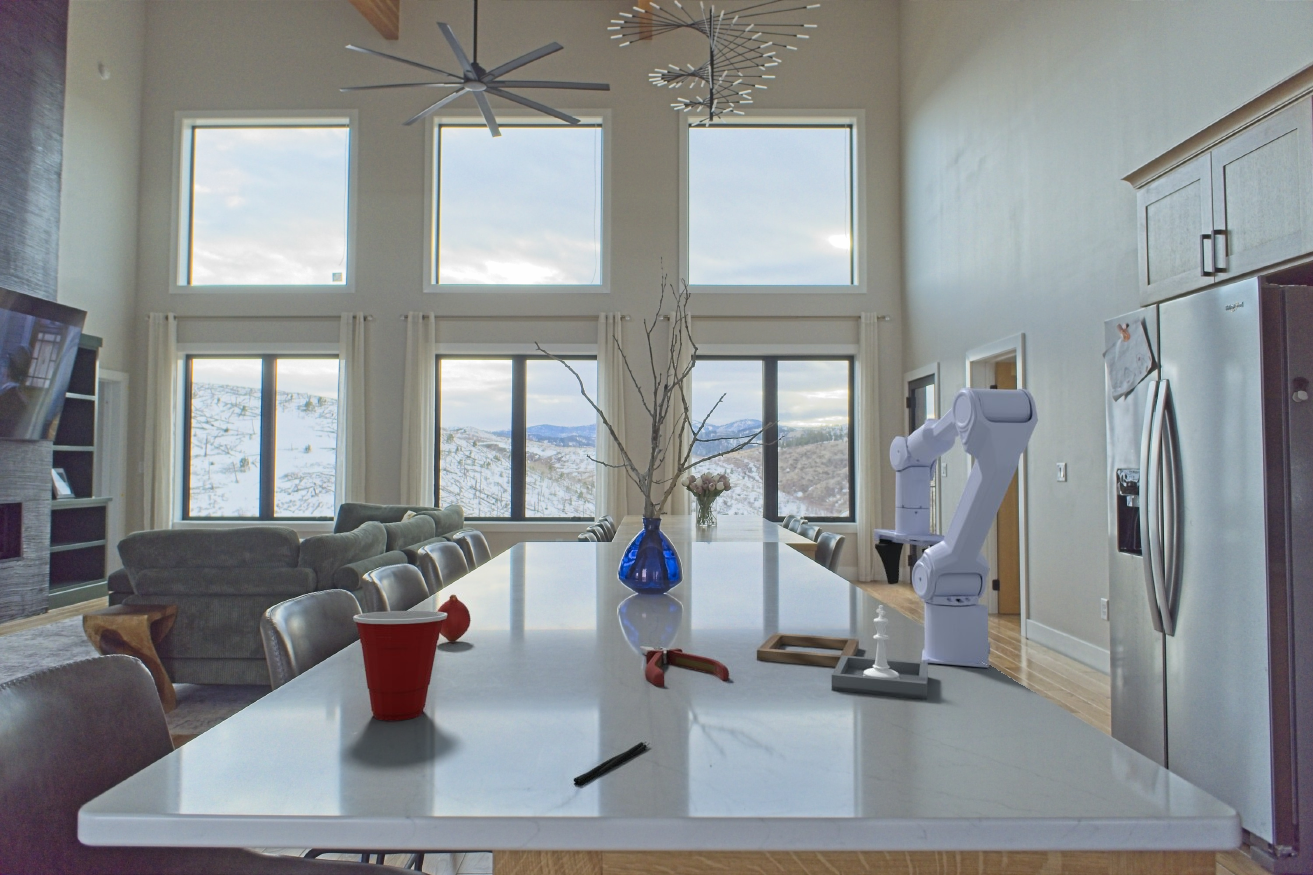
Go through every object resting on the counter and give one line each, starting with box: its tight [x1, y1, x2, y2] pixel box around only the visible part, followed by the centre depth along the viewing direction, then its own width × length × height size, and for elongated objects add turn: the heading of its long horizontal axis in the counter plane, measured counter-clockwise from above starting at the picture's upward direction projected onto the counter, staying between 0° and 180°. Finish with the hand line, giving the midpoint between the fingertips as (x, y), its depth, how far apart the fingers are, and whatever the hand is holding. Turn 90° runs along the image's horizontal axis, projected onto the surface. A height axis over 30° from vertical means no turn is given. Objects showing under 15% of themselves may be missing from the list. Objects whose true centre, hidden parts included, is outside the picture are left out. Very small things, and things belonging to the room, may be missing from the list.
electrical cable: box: [573, 740, 651, 787], centre depth 79 cm, size 12×1×1 cm, turn 149°
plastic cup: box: [352, 610, 447, 722], centre depth 95 cm, size 11×11×12 cm
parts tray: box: [831, 655, 929, 700], centre depth 110 cm, size 12×12×2 cm
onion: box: [436, 594, 472, 643], centre depth 134 cm, size 6×6×8 cm
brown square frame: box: [756, 632, 860, 668], centre depth 127 cm, size 14×14×2 cm
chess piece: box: [863, 604, 900, 679], centre depth 111 cm, size 5×5×10 cm
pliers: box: [639, 645, 730, 687], centre depth 118 cm, size 12×20×3 cm, turn 19°
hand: (912, 586), depth 136 cm, fingers open, 7 cm apart
